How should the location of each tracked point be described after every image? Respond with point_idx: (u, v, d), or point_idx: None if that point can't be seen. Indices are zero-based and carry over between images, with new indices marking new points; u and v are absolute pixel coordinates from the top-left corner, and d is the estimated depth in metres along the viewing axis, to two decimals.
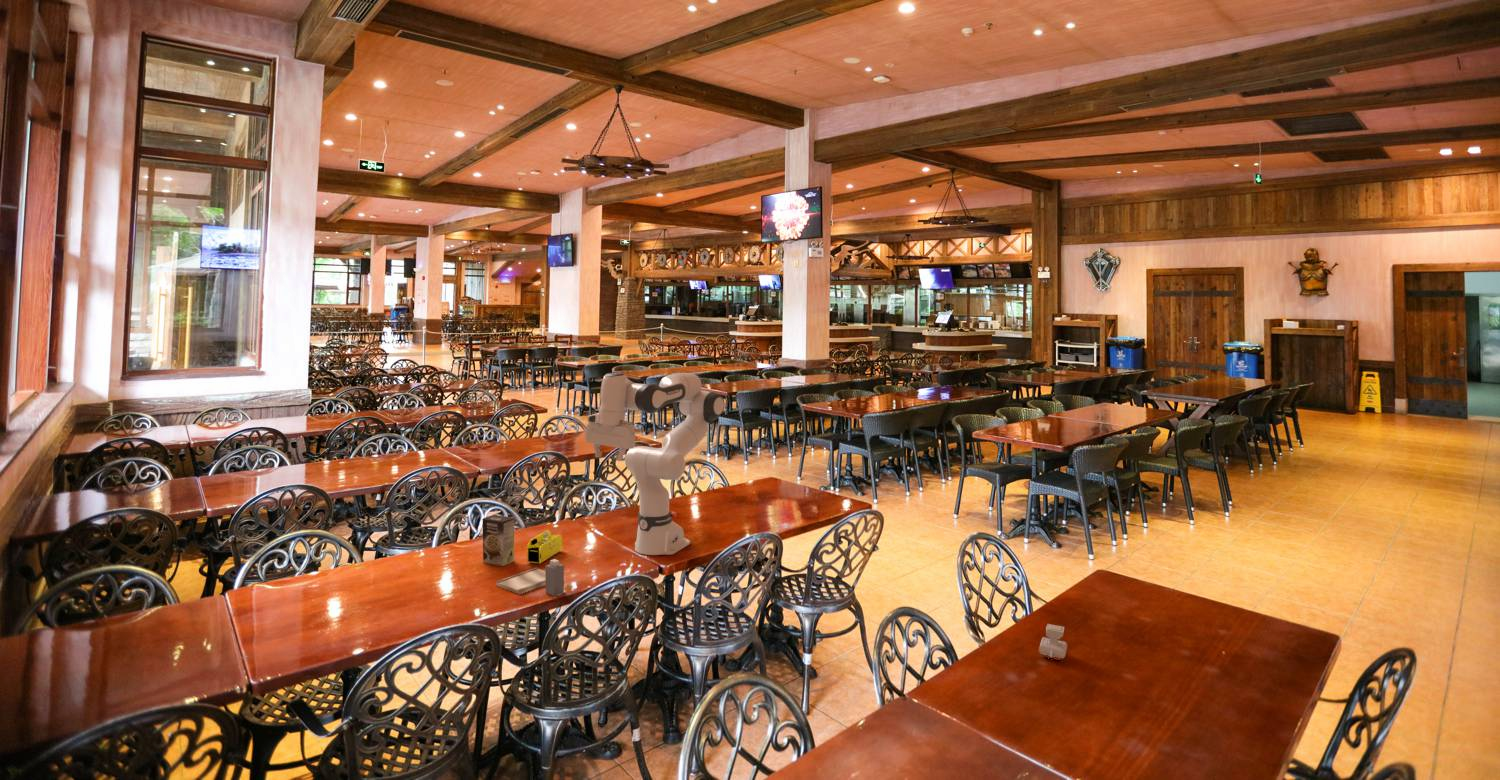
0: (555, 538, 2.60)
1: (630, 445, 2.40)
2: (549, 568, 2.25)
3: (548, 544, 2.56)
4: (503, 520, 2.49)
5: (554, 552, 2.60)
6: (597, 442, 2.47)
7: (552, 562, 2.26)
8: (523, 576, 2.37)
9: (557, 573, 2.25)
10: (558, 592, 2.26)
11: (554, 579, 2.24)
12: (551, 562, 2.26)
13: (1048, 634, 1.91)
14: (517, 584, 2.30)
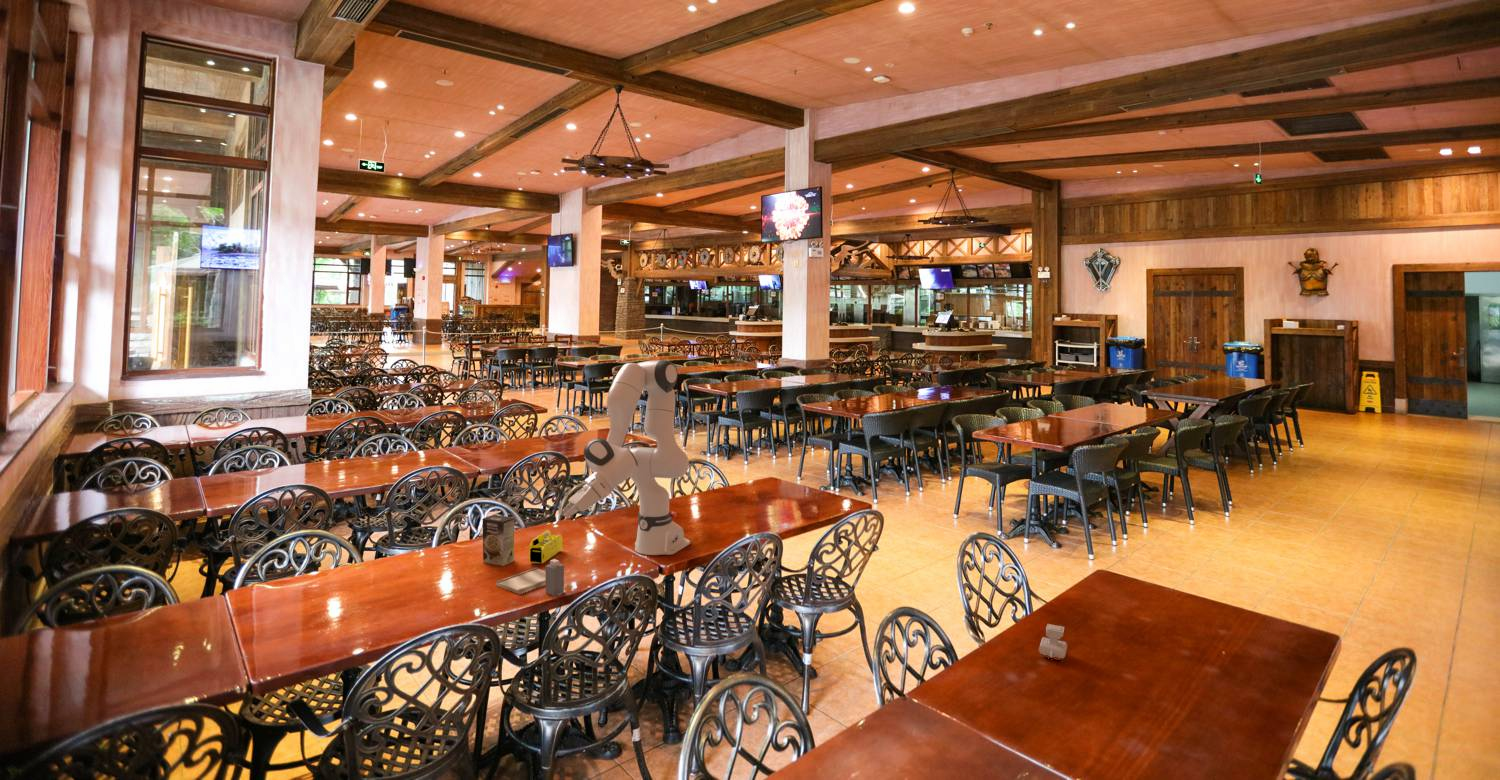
0: (556, 538, 2.61)
1: None
2: (549, 568, 2.25)
3: (550, 544, 2.56)
4: (503, 520, 2.49)
5: (555, 552, 2.60)
6: None
7: (552, 562, 2.26)
8: (523, 576, 2.37)
9: (557, 573, 2.25)
10: (558, 592, 2.26)
11: (554, 579, 2.24)
12: (551, 562, 2.26)
13: (1049, 634, 1.91)
14: (517, 584, 2.30)
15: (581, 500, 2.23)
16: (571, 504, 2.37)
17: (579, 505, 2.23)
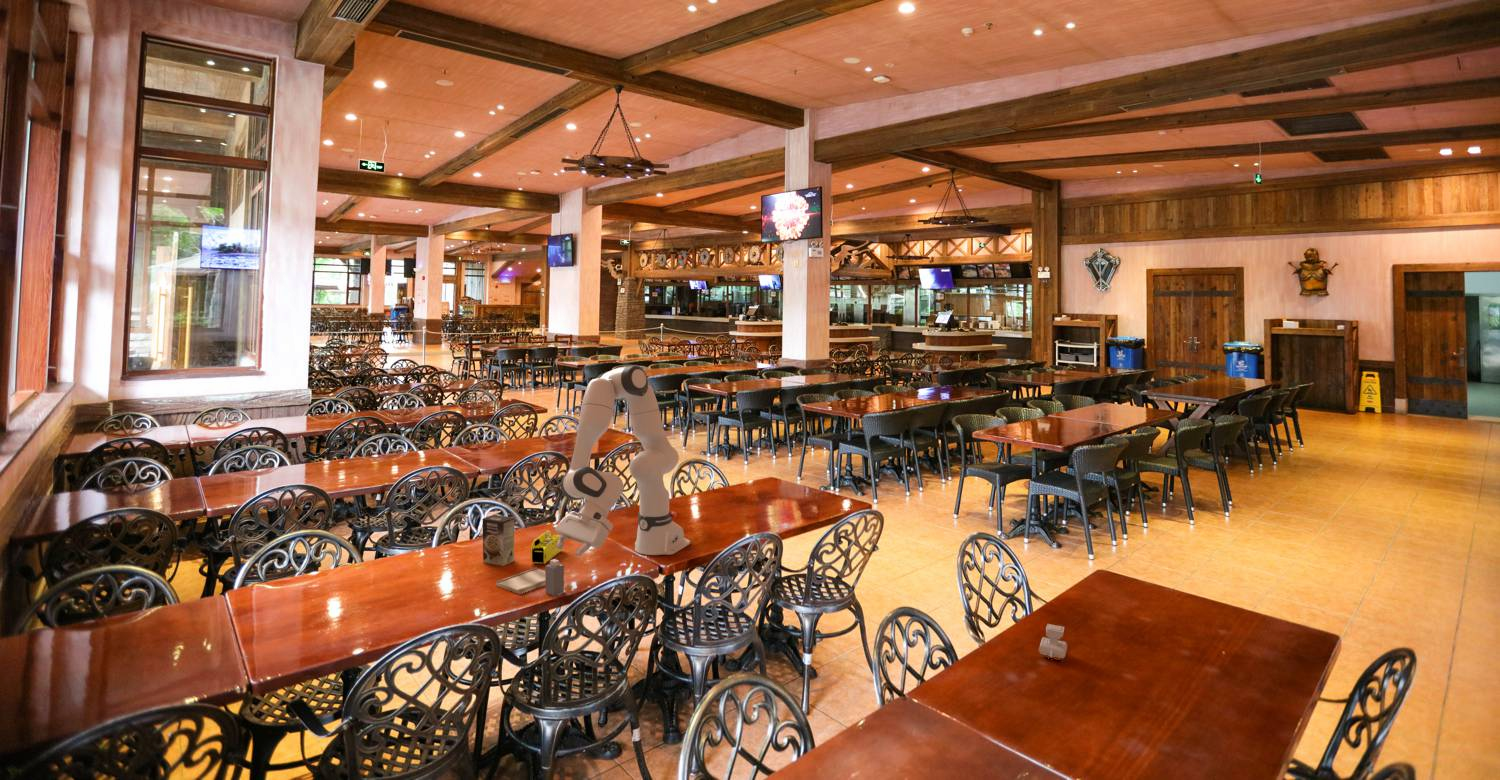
0: (557, 538, 2.61)
1: None
2: (549, 568, 2.25)
3: (551, 544, 2.56)
4: (503, 520, 2.49)
5: (556, 552, 2.60)
6: None
7: (552, 562, 2.26)
8: (523, 576, 2.37)
9: (557, 573, 2.25)
10: (558, 592, 2.26)
11: (554, 579, 2.24)
12: (551, 562, 2.26)
13: (1049, 634, 1.91)
14: (517, 584, 2.30)
15: (597, 539, 2.29)
16: (564, 536, 2.38)
17: (596, 544, 2.29)
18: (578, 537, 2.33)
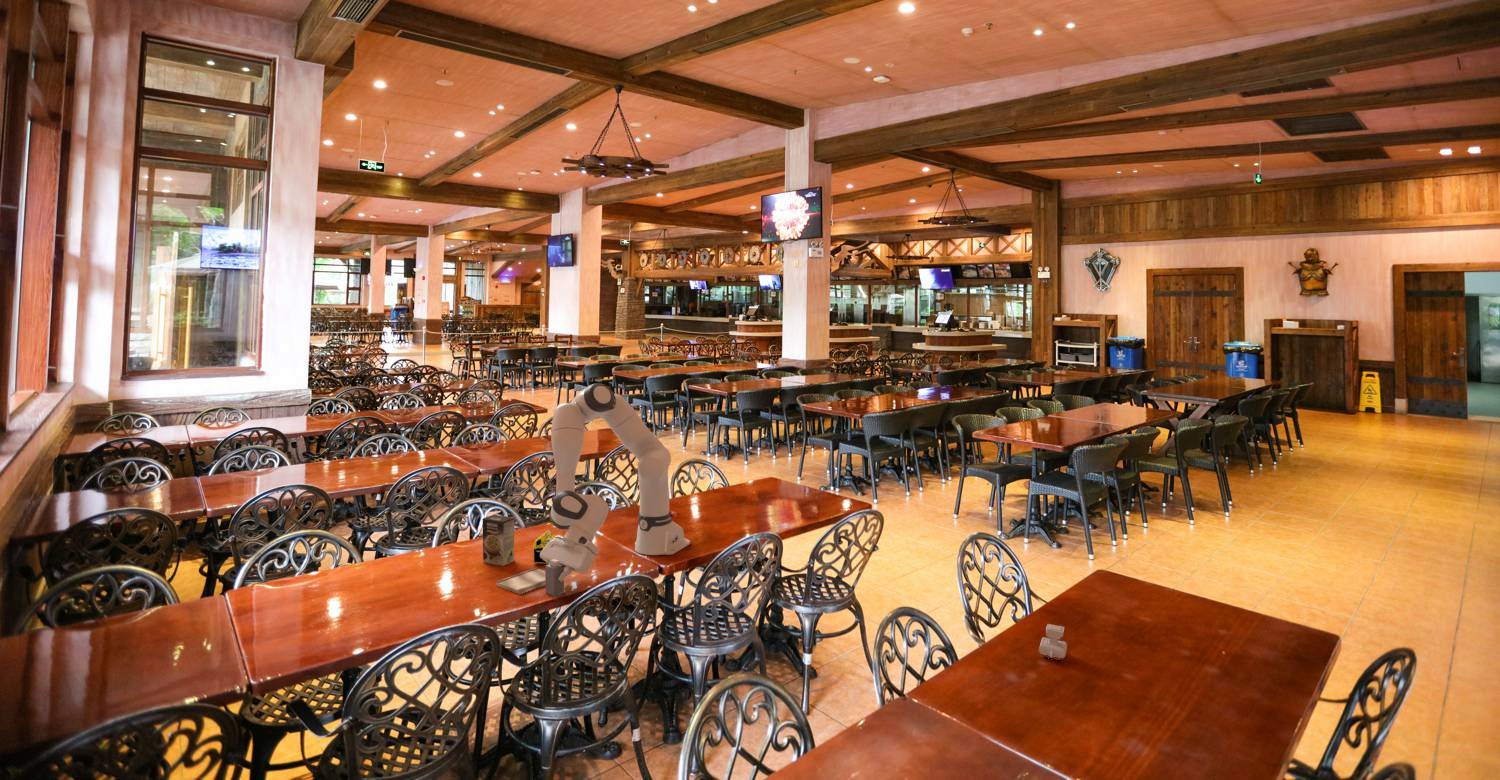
0: None
1: None
2: (549, 568, 2.25)
3: None
4: (503, 520, 2.49)
5: None
6: None
7: (552, 562, 2.26)
8: (523, 576, 2.37)
9: (557, 573, 2.25)
10: (558, 592, 2.26)
11: (554, 579, 2.24)
12: (551, 562, 2.26)
13: (1049, 634, 1.91)
14: (517, 584, 2.30)
15: (583, 564, 2.23)
16: None
17: (582, 569, 2.23)
18: (563, 563, 2.26)
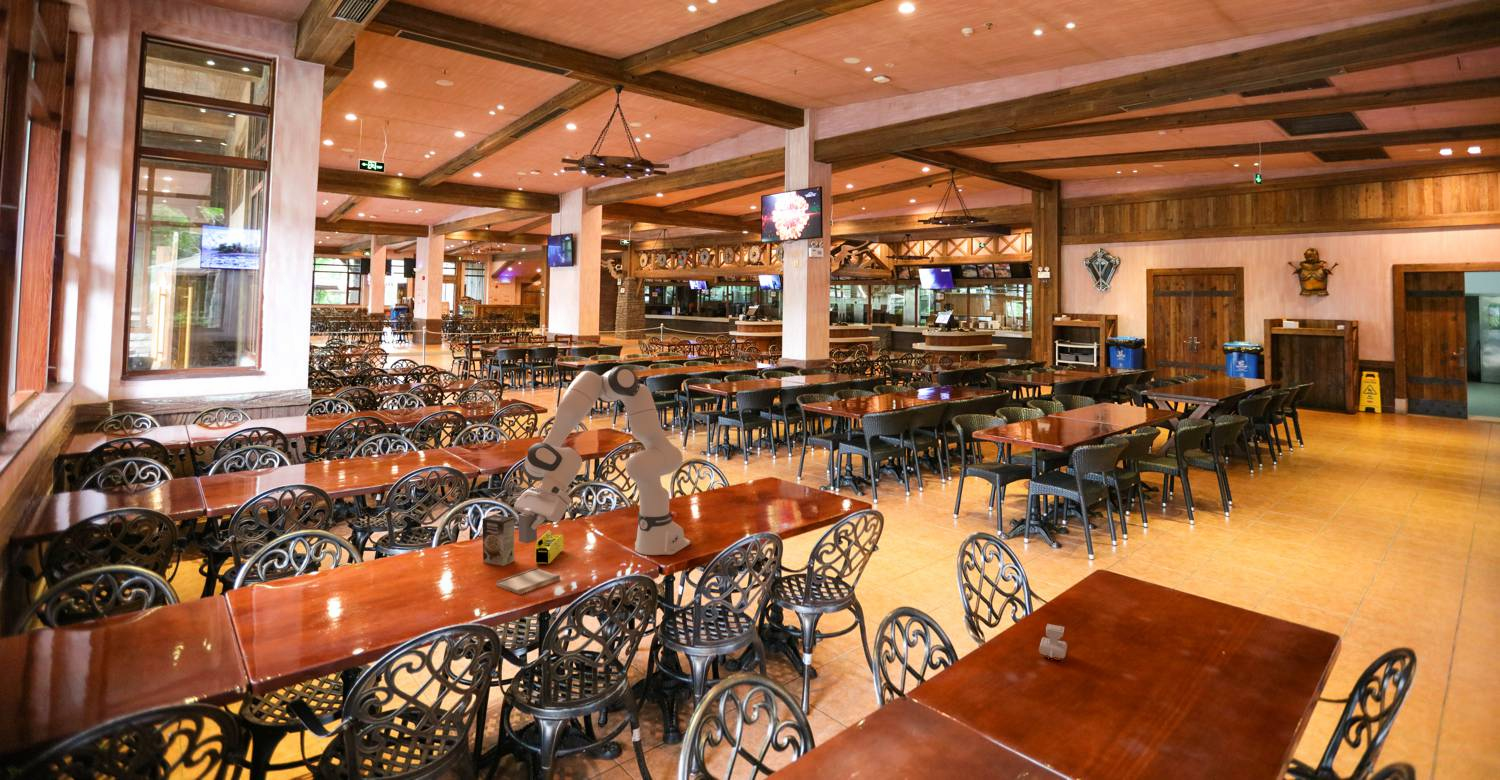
0: (559, 538, 2.61)
1: None
2: (522, 516, 2.31)
3: (554, 544, 2.56)
4: (503, 520, 2.49)
5: (558, 552, 2.61)
6: None
7: (525, 511, 2.31)
8: (523, 576, 2.37)
9: (530, 521, 2.31)
10: (531, 540, 2.32)
11: (527, 527, 2.30)
12: (524, 511, 2.32)
13: (1049, 634, 1.91)
14: (517, 584, 2.30)
15: (555, 512, 2.29)
16: None
17: (554, 517, 2.29)
18: (536, 512, 2.32)
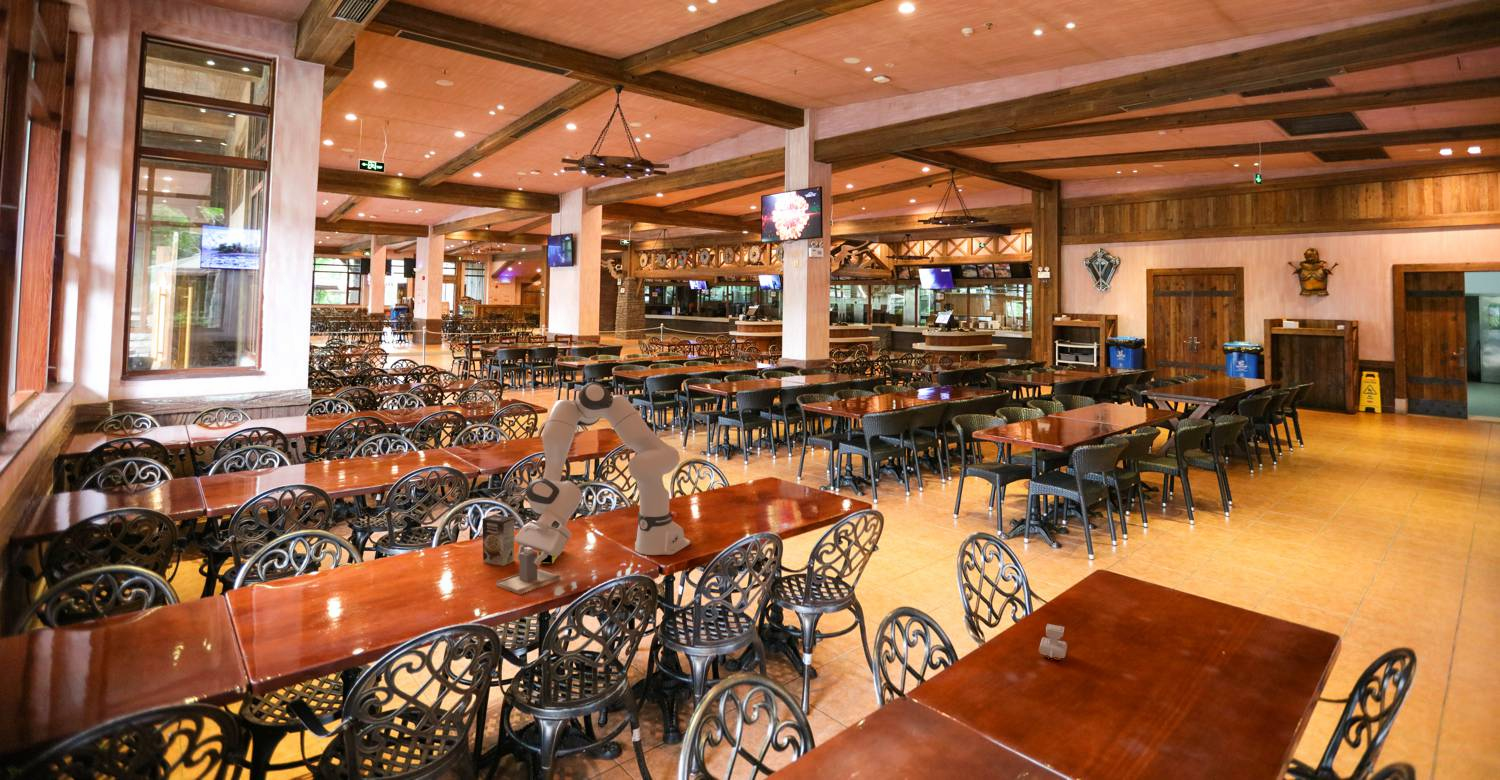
0: None
1: None
2: (523, 555, 2.32)
3: None
4: (503, 520, 2.49)
5: None
6: None
7: (525, 550, 2.33)
8: None
9: (530, 560, 2.32)
10: (531, 579, 2.33)
11: (527, 566, 2.31)
12: (525, 550, 2.33)
13: (1049, 634, 1.91)
14: (517, 584, 2.30)
15: (556, 547, 2.30)
16: (524, 545, 2.38)
17: (554, 552, 2.30)
18: (537, 546, 2.33)
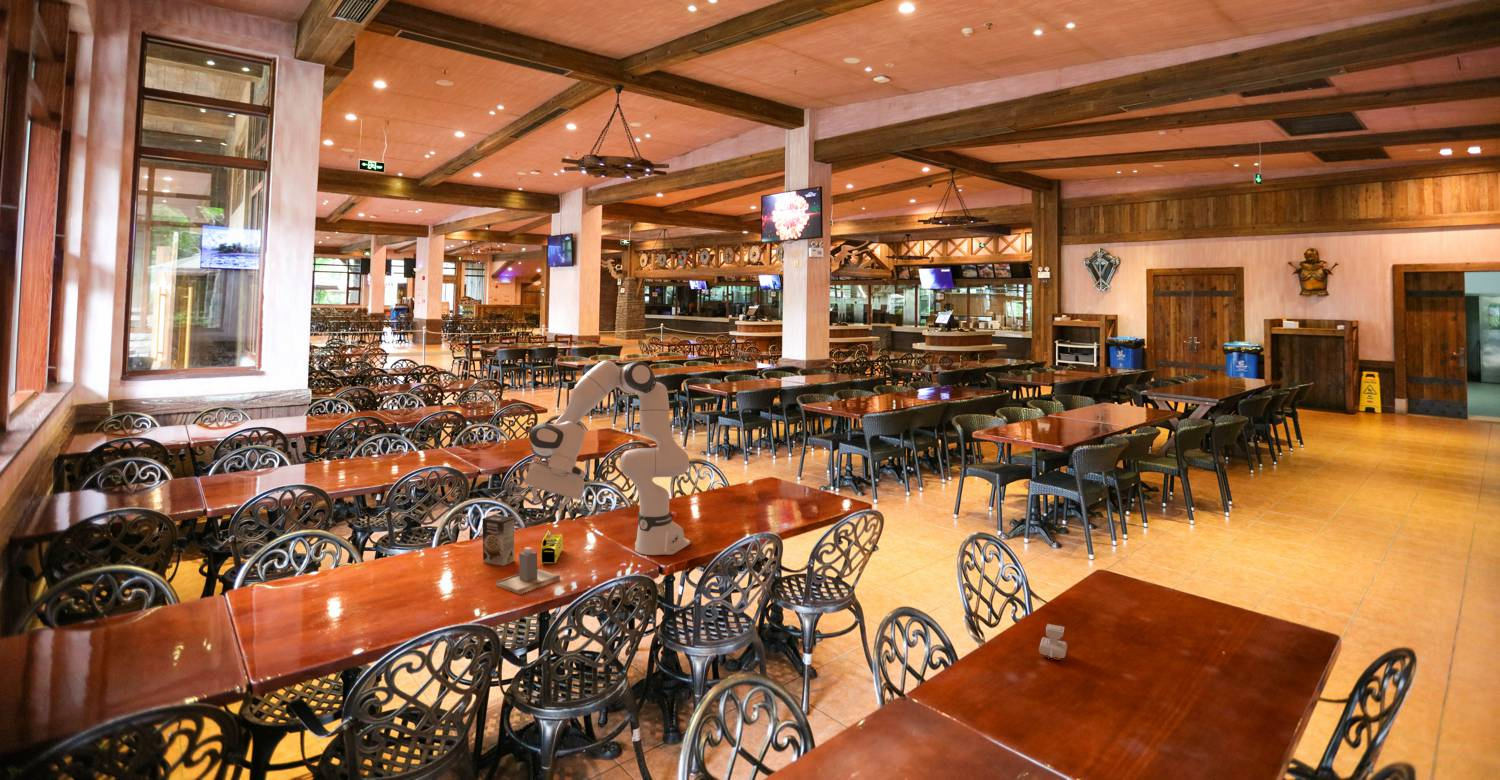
0: (560, 537, 2.62)
1: None
2: (523, 555, 2.32)
3: (558, 543, 2.57)
4: (503, 520, 2.49)
5: (560, 551, 2.61)
6: None
7: (525, 550, 2.33)
8: None
9: (530, 560, 2.32)
10: (531, 579, 2.33)
11: (527, 566, 2.31)
12: (525, 550, 2.33)
13: (1049, 634, 1.91)
14: (517, 584, 2.30)
15: (582, 493, 2.45)
16: (537, 488, 2.44)
17: (580, 498, 2.46)
18: (558, 491, 2.44)
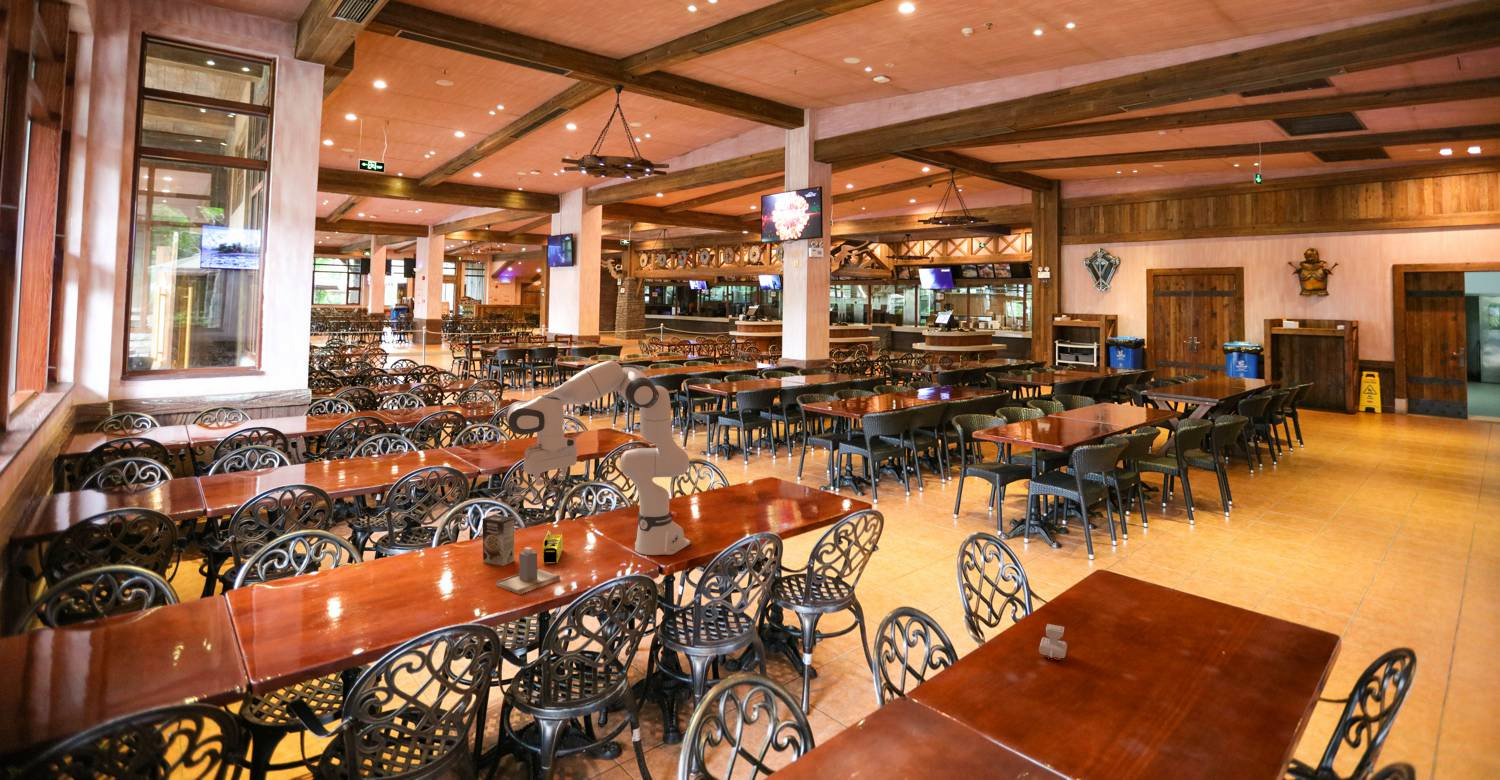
0: (561, 537, 2.62)
1: (524, 470, 2.34)
2: (523, 555, 2.32)
3: (559, 543, 2.57)
4: (503, 520, 2.49)
5: (560, 551, 2.61)
6: None
7: (525, 550, 2.33)
8: None
9: (530, 560, 2.32)
10: (531, 579, 2.33)
11: (527, 566, 2.31)
12: (525, 550, 2.33)
13: (1049, 634, 1.91)
14: (517, 584, 2.30)
15: None
16: None
17: None
18: (559, 467, 2.43)
